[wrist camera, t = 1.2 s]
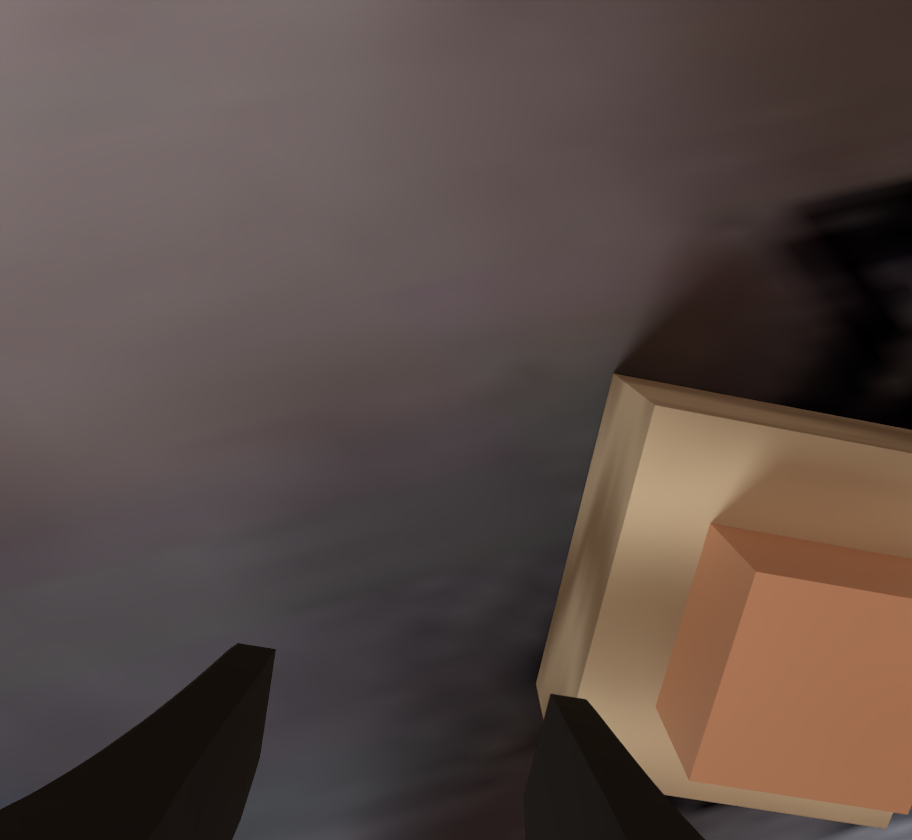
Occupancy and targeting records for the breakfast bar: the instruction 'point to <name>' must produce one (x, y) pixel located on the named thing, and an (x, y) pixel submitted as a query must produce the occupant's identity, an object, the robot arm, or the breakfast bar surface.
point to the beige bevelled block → (682, 539)
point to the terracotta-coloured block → (795, 671)
